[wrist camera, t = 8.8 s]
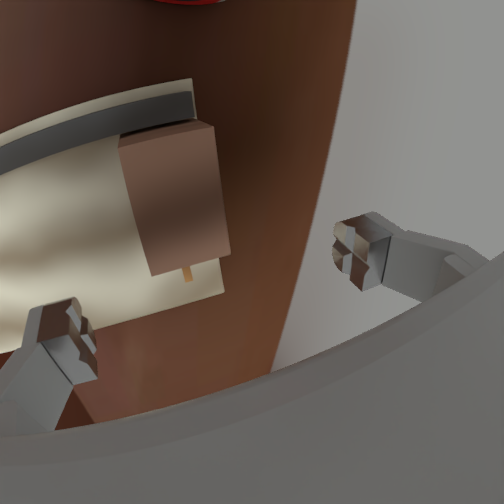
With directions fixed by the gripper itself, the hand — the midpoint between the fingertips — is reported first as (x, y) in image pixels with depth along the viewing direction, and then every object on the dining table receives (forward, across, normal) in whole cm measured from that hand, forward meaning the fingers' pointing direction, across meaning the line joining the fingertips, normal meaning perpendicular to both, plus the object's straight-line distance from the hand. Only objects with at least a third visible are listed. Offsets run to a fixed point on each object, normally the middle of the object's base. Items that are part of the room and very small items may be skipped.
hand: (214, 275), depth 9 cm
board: (+14, +8, +3) cm, 16 cm away
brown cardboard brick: (+12, 0, +1) cm, 12 cm away
